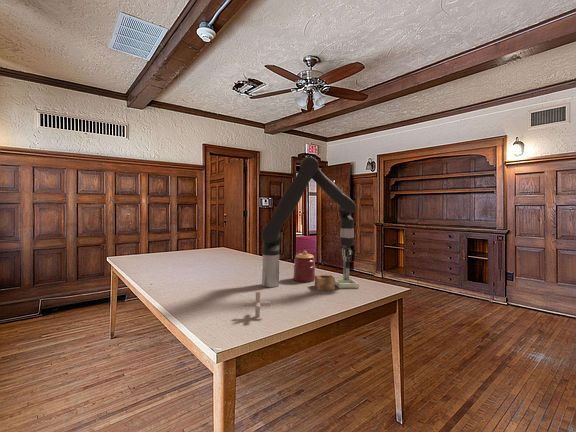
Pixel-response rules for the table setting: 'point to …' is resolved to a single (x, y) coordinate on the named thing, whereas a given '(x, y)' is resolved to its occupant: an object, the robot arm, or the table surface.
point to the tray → (346, 284)
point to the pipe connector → (257, 304)
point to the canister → (304, 267)
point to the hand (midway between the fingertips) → (346, 267)
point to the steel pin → (345, 272)
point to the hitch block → (324, 282)
